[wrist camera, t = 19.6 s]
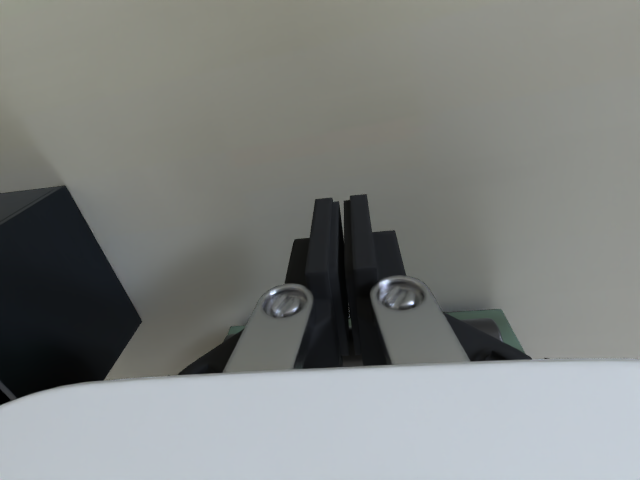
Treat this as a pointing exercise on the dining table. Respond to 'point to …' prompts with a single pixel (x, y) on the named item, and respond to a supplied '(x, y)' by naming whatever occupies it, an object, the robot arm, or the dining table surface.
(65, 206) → the dark glass display case
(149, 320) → the dining table surface
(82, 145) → the dining table surface
